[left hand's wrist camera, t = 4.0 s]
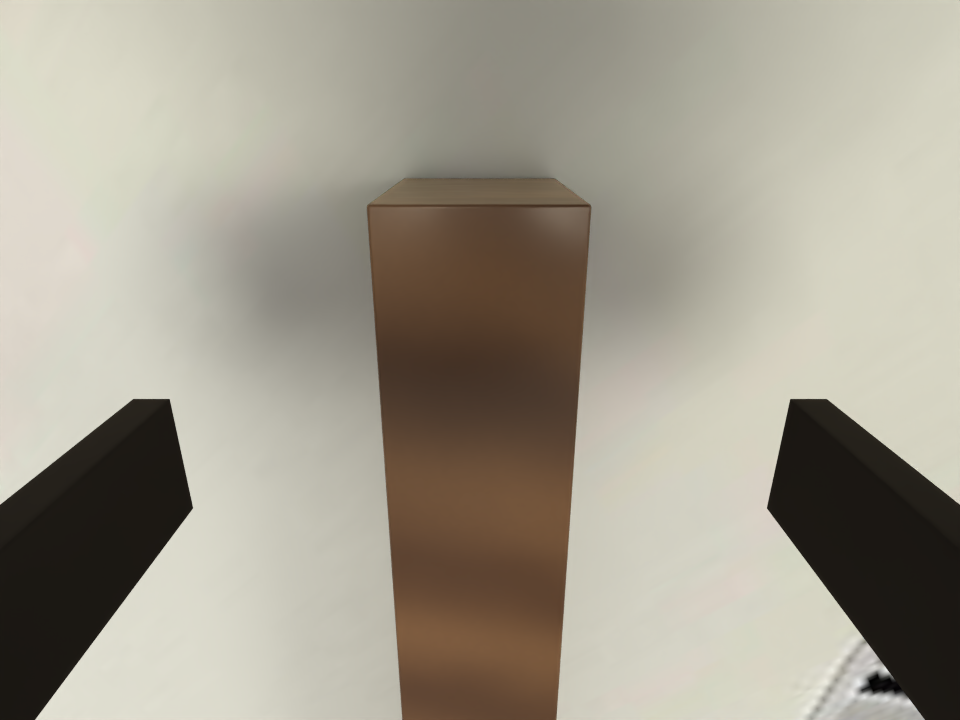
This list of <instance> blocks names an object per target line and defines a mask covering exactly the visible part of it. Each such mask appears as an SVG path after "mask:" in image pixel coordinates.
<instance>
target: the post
mask: <svg viewBox="0 0 960 720" xmlns="http://www.w3.org/2000/svg"><path fill="white" fill-rule="evenodd" d="M367 216H368V231H369V245H370V260H371V274H372V289H373V303H374V317H375V332H376V346H377V361H378V375H379V390H380V404H381V418H382V433H383V447H384V462H385V476H386V491H387V505H388V519H389V534H390V548H391V563H392V577H393V591H394V606H395V620H396V635H397V649H398V664H399V678H400V692H401V707H402V720H556V717H557V702H558V687H559V673H560V658H561V643H562V629H563V614H564V599H565V585H566V570H567V555H568V541H569V526H570V511H571V497H572V482H573V467H574V453H575V438H576V423H577V409H578V394H579V379H580V365H581V350H582V335H583V321H584V306H585V291H586V277H587V262H588V247H589V233H590V218H591V205H590V204H588V203H587V202H586V201H584V200H583V199H582V198H580V197H579V196H578V195H576V194H575V193H574V192H572V191H571V190H570V189H568V188H567V187H566V186H564V185H563V184H561V183H560V182H559V181H557V180H556V179H403V180H402V181H400V182H399V183H398V184H396V185H395V186H393V187H392V188H391V189H389V190H388V191H386V192H385V193H384V194H382V195H381V196H379V197H378V198H377V199H375V200H374V201H373V202H371V203H370V204H368V205H367Z"/></svg>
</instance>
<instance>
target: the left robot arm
mask: <svg viewBox="0 0 960 720" xmlns="http://www.w3.org/2000/svg"><path fill="white" fill-rule="evenodd" d="M192 509H193V506H192V501H191V496H190V492H189V487H188V483H187V478H186V473H185V469H184V464H183V459H182V455H181V450H180V445H179V441H178V436H177V431H176V427H175V422H174V417H173V413H172V408H171V403H170V399H133V400H132V401H130V402H129V403H128V404H127V405H125V406H124V407H123V408H122V409H120V410H119V411H118V412H117V413H115V414H114V415H113V416H112V417H110V418H109V419H108V420H106V421H105V422H104V423H103V424H101V425H100V426H99V427H98V428H96V429H95V430H94V431H93V432H91V433H90V434H89V435H88V436H86V437H85V438H84V439H83V440H81V441H80V442H79V443H77V444H76V445H75V446H74V447H72V448H71V449H70V450H69V451H67V452H66V453H65V454H64V455H62V456H61V457H60V458H59V459H57V460H56V461H55V462H54V463H52V464H51V465H50V466H48V467H47V468H46V469H45V470H43V471H42V472H41V473H40V474H38V475H37V476H36V477H35V478H33V479H32V480H31V481H30V482H28V483H27V484H26V485H25V486H23V487H22V488H21V489H20V490H18V491H17V492H16V493H14V494H13V495H12V496H11V497H9V498H8V499H7V500H6V501H4V502H3V503H2V504H1V505H0V720H35V719H36V718H37V716H38V715H39V714H40V712H41V711H42V710H43V708H44V707H45V706H46V704H47V703H48V702H49V700H50V699H51V698H52V696H53V695H54V694H55V692H56V691H57V690H58V688H59V687H60V686H61V684H62V683H63V682H64V680H65V679H66V678H67V676H68V675H69V674H70V672H71V671H72V669H73V668H74V667H75V665H76V664H77V663H78V661H79V660H80V659H81V657H82V656H83V655H84V653H85V652H86V651H87V649H88V648H89V647H90V645H91V644H92V643H93V641H94V640H95V639H96V637H97V636H98V635H99V633H100V632H101V631H102V629H103V628H104V627H105V625H106V624H107V623H108V621H109V620H110V619H111V617H112V616H113V615H114V613H115V612H116V611H117V609H118V608H119V607H120V605H121V604H122V603H123V601H124V600H125V599H126V597H127V596H128V595H129V593H130V592H131V591H132V589H133V588H134V587H135V585H136V584H137V582H138V581H139V580H140V578H141V577H142V576H143V574H144V573H145V572H146V570H147V569H148V568H149V566H150V565H151V564H152V562H153V561H154V560H155V558H156V557H157V556H158V554H159V553H160V552H161V550H162V549H163V548H164V546H165V545H166V544H167V542H168V541H169V540H170V538H171V537H172V536H173V534H174V533H175V532H176V530H177V529H178V528H179V526H180V525H181V524H182V522H183V521H184V520H185V518H186V517H187V516H188V514H189V513H190V512H191V510H192ZM767 509H768V510H769V512H770V513H771V514H772V516H773V517H774V518H775V520H776V521H777V522H778V524H779V525H780V526H781V528H782V529H783V530H784V532H785V533H786V534H787V536H788V537H789V538H790V540H791V541H792V542H793V544H794V545H795V546H796V548H797V549H798V550H799V552H800V553H801V554H802V556H803V557H804V558H805V560H806V561H807V562H808V564H809V565H810V566H811V568H812V569H813V570H814V572H815V573H816V574H817V576H818V577H819V578H820V580H821V581H822V582H823V584H824V585H825V587H826V588H827V589H828V591H829V592H830V593H831V595H832V596H833V597H834V599H835V600H836V601H837V603H838V604H839V605H840V607H841V608H842V609H843V611H844V612H845V613H846V615H847V616H848V617H849V619H850V620H851V621H852V623H853V624H854V625H855V627H856V628H857V629H858V631H859V632H860V633H861V635H862V636H863V637H864V639H865V640H866V641H867V643H868V644H869V645H870V647H871V648H872V649H873V651H874V652H875V653H876V655H877V656H878V657H879V659H880V660H881V661H882V663H883V664H884V665H885V667H886V668H887V669H888V671H889V672H890V674H891V675H892V676H893V678H894V679H895V680H896V682H897V683H898V684H899V686H900V687H901V688H902V690H903V691H904V692H905V694H906V695H907V696H908V698H909V699H910V700H911V702H912V703H913V704H914V706H915V707H916V708H917V710H918V711H919V712H920V714H921V715H922V716H923V718H924V719H925V720H960V505H959V504H958V503H957V502H956V501H954V500H953V499H952V498H951V497H949V496H948V495H947V494H946V493H944V492H943V491H942V490H940V489H939V488H938V487H937V486H935V485H934V484H933V483H932V482H930V481H929V480H928V479H927V478H925V477H924V476H923V475H922V474H920V473H919V472H918V471H917V470H915V469H914V468H913V467H912V466H910V465H909V464H908V463H906V462H905V461H904V460H903V459H901V458H900V457H899V456H898V455H896V454H895V453H894V452H893V451H891V450H890V449H889V448H888V447H886V446H885V445H884V444H883V443H881V442H880V441H879V440H877V439H876V438H875V437H874V436H872V435H871V434H870V433H869V432H867V431H866V430H865V429H864V428H862V427H861V426H860V425H859V424H857V423H856V422H855V421H854V420H852V419H851V418H850V417H848V416H847V415H846V414H845V413H843V412H842V411H841V410H840V409H838V408H837V407H836V406H835V405H833V404H832V403H831V402H830V401H828V400H827V399H790V403H789V408H788V413H787V417H786V422H785V427H784V431H783V436H782V441H781V445H780V450H779V455H778V459H777V464H776V469H775V473H774V478H773V483H772V487H771V492H770V496H769V501H768V506H767Z"/></svg>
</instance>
